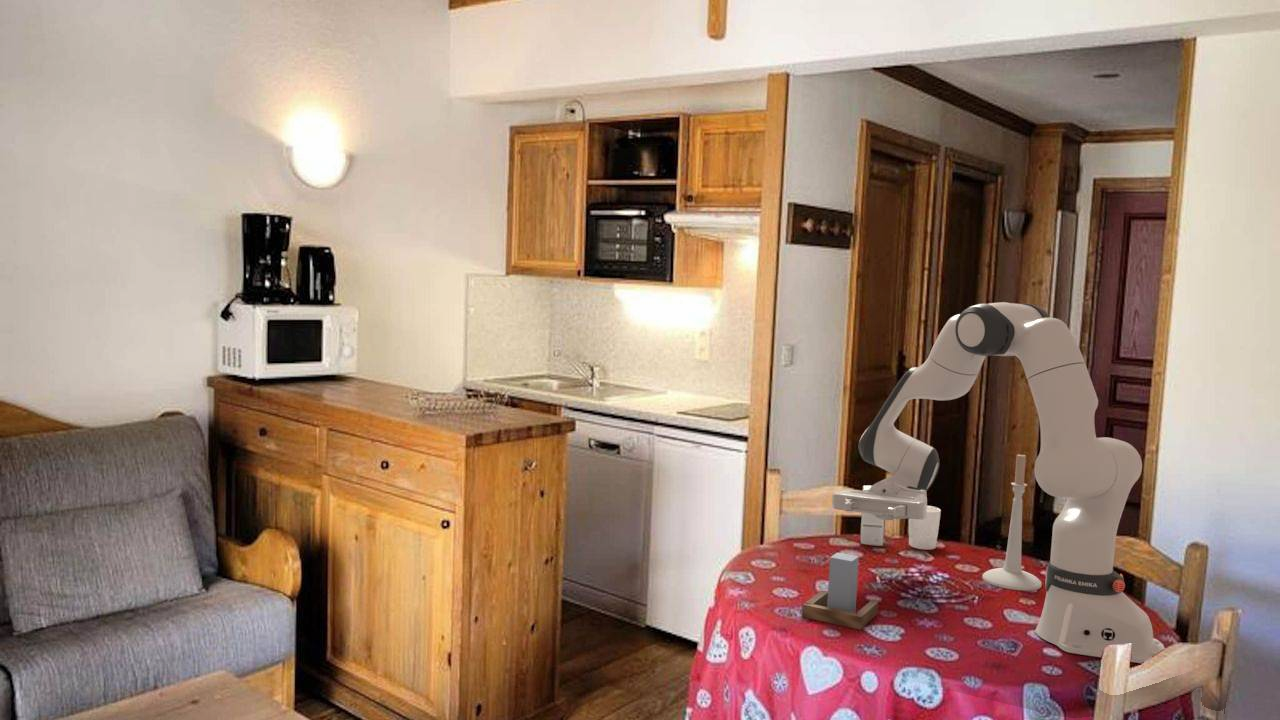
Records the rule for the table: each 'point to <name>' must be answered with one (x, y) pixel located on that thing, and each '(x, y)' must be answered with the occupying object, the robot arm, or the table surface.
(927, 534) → the white cup
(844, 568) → the grey block
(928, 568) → the table surface
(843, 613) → the wooden u-shaped frame
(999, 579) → the candlestick
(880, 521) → the syrup box
